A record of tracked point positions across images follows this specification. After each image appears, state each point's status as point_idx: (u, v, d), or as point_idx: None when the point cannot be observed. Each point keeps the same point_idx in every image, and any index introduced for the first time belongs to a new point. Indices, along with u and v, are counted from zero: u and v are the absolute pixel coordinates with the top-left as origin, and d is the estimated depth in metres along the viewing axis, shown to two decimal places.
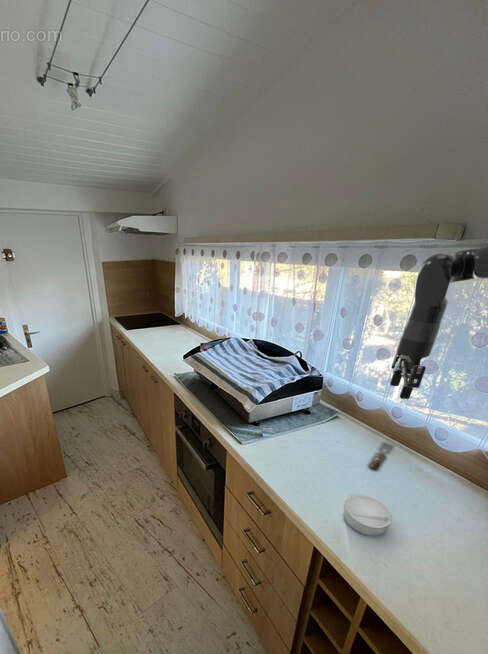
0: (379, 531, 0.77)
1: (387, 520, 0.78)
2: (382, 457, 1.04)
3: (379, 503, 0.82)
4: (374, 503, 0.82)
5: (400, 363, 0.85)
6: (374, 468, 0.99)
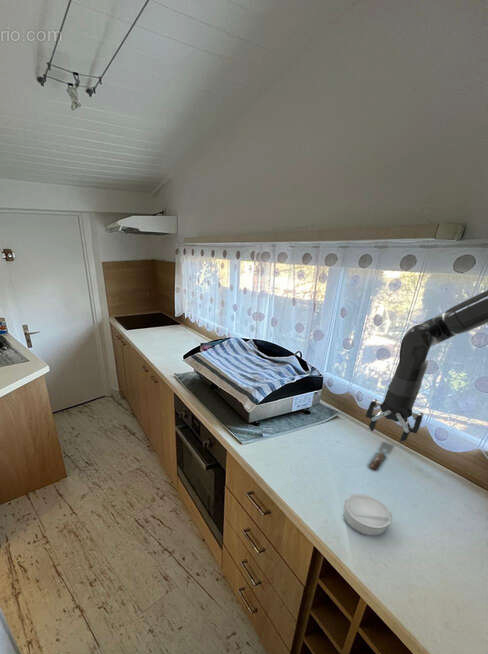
0: (379, 531, 0.77)
1: (387, 520, 0.78)
2: (382, 457, 1.04)
3: (379, 503, 0.82)
4: (374, 503, 0.82)
5: (388, 414, 0.94)
6: (374, 468, 0.99)
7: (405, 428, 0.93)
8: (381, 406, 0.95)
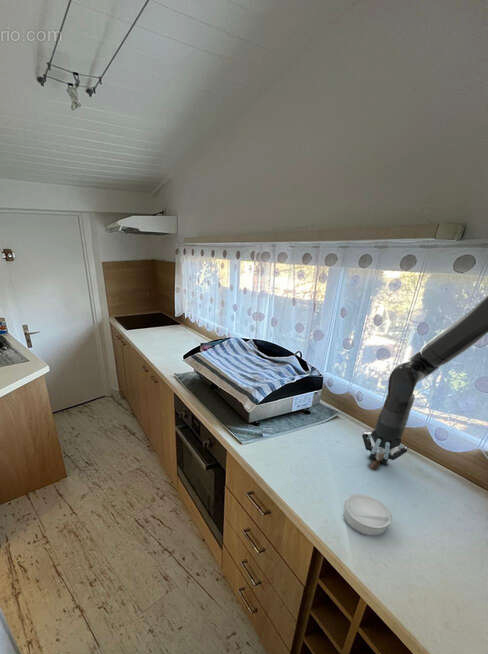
0: (379, 531, 0.77)
1: (387, 520, 0.78)
2: (382, 457, 1.04)
3: (379, 503, 0.82)
4: (374, 503, 0.82)
5: (380, 442, 0.99)
6: (374, 468, 0.99)
7: (384, 455, 1.00)
8: (372, 434, 1.01)
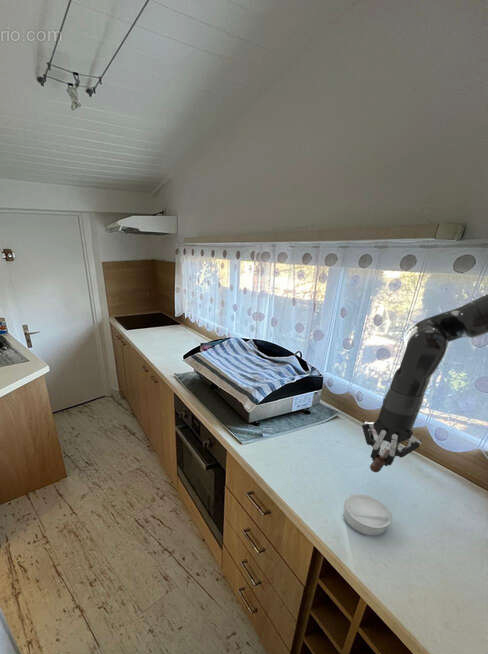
0: (379, 531, 0.77)
1: (387, 520, 0.78)
2: (387, 454, 0.82)
3: (379, 503, 0.82)
4: (374, 503, 0.82)
5: (385, 434, 0.77)
6: (377, 467, 0.78)
7: (390, 451, 0.78)
8: (375, 425, 0.79)
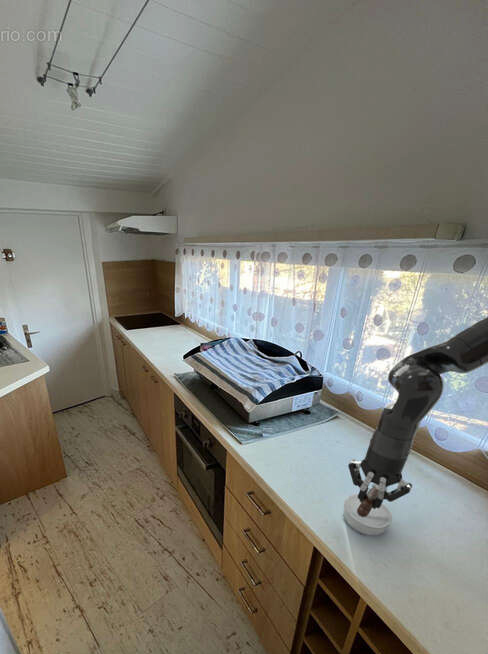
0: (379, 531, 0.77)
1: (387, 520, 0.78)
2: (376, 495, 0.76)
3: None
4: None
5: (373, 476, 0.71)
6: (364, 512, 0.72)
7: (378, 494, 0.72)
8: (361, 465, 0.73)
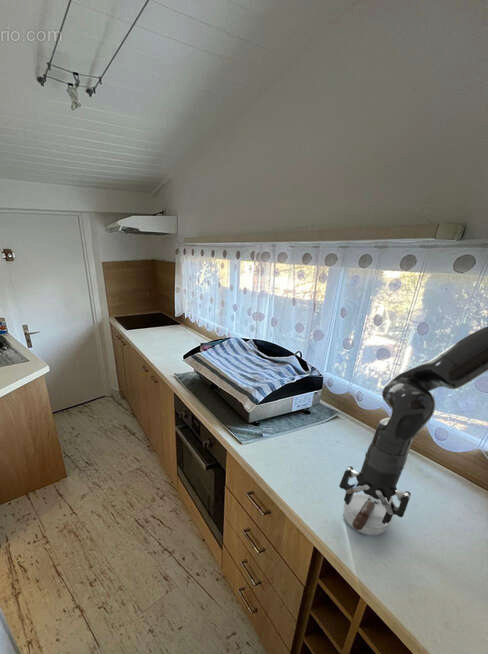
0: (379, 531, 0.77)
1: None
2: (371, 508, 0.78)
3: (379, 503, 0.82)
4: (374, 503, 0.82)
5: None
6: (359, 526, 0.74)
7: (388, 509, 0.72)
8: (357, 478, 0.75)
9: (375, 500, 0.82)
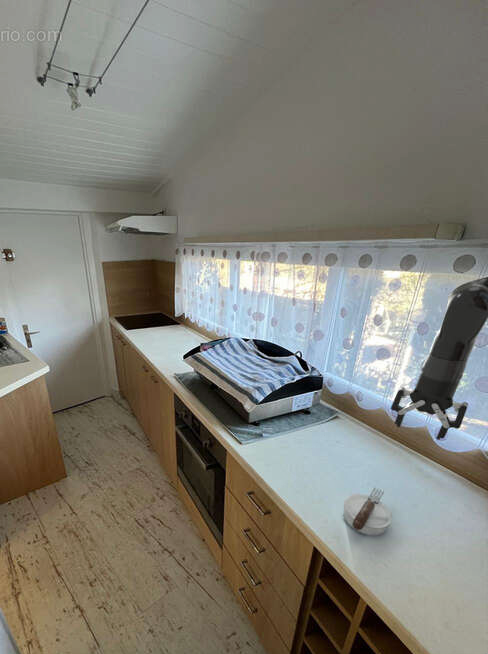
0: (379, 531, 0.77)
1: (387, 520, 0.78)
2: (371, 508, 0.78)
3: (379, 503, 0.82)
4: (374, 503, 0.82)
5: (421, 405, 0.75)
6: (359, 525, 0.74)
7: (444, 422, 0.73)
8: (411, 395, 0.76)
9: (375, 500, 0.82)
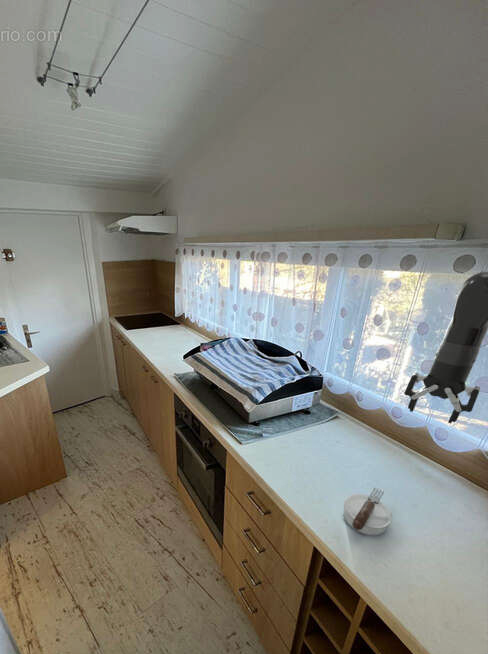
0: (379, 531, 0.77)
1: (387, 520, 0.78)
2: (371, 508, 0.78)
3: (379, 503, 0.82)
4: (374, 503, 0.82)
5: (434, 389, 0.78)
6: (359, 526, 0.74)
7: (456, 406, 0.76)
8: (425, 380, 0.79)
9: (375, 500, 0.82)
